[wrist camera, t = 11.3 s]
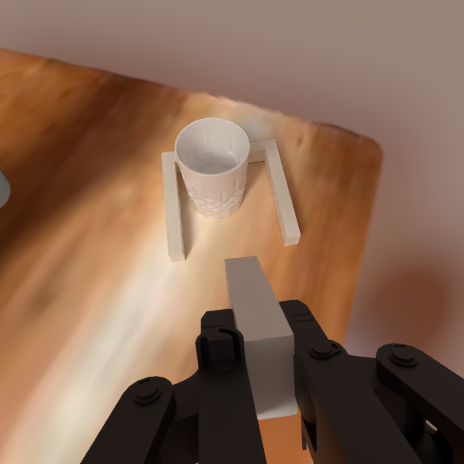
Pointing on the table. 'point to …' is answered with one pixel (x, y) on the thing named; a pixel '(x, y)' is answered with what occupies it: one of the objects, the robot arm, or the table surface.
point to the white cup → (213, 164)
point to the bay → (257, 153)
